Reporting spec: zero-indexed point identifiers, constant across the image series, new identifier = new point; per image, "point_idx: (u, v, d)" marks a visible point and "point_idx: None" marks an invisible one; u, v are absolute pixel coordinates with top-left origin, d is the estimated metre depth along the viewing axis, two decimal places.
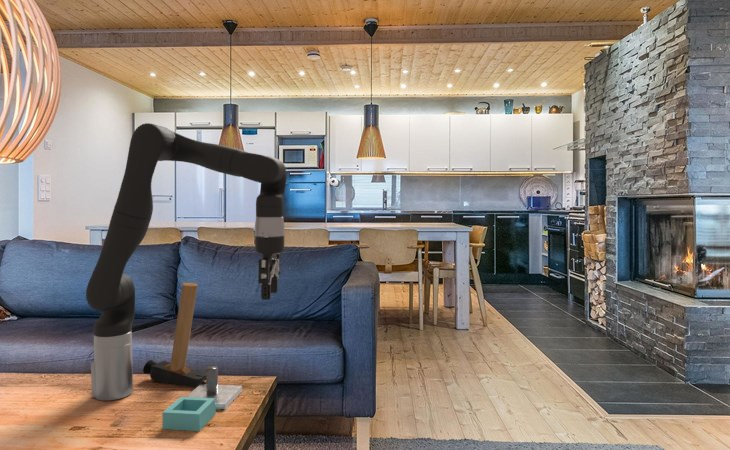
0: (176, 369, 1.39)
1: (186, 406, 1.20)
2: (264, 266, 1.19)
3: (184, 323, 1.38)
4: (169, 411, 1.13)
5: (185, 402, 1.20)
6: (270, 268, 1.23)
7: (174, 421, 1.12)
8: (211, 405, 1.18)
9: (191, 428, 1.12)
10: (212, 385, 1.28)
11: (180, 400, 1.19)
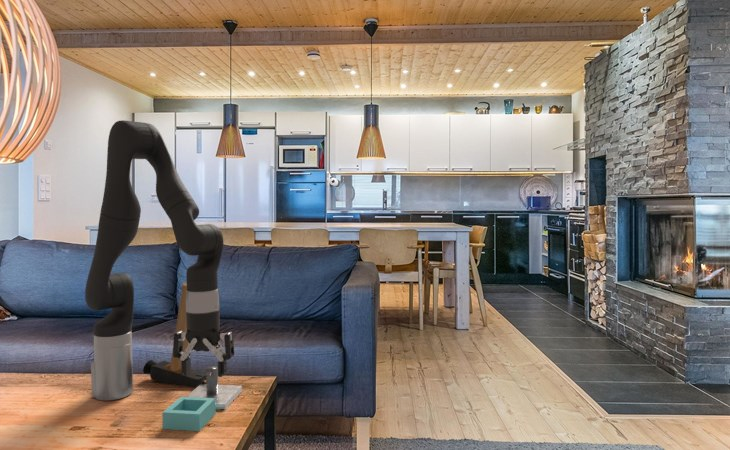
0: (176, 369, 1.39)
1: (186, 406, 1.20)
2: (231, 339, 1.14)
3: (184, 323, 1.38)
4: (169, 411, 1.13)
5: (185, 402, 1.20)
6: None
7: (174, 421, 1.12)
8: (211, 405, 1.18)
9: (191, 428, 1.12)
10: (212, 385, 1.28)
11: (179, 400, 1.19)
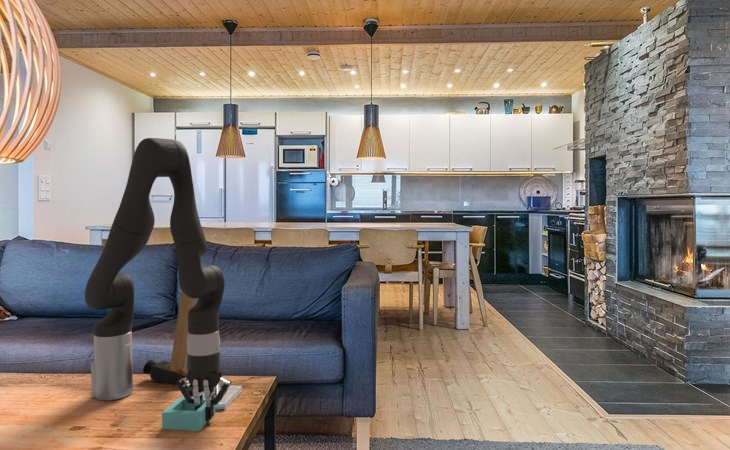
0: (176, 369, 1.39)
1: (186, 406, 1.20)
2: None
3: (184, 323, 1.38)
4: (169, 411, 1.13)
5: (185, 401, 1.20)
6: None
7: (174, 421, 1.12)
8: None
9: (191, 428, 1.12)
10: None
11: (179, 400, 1.19)
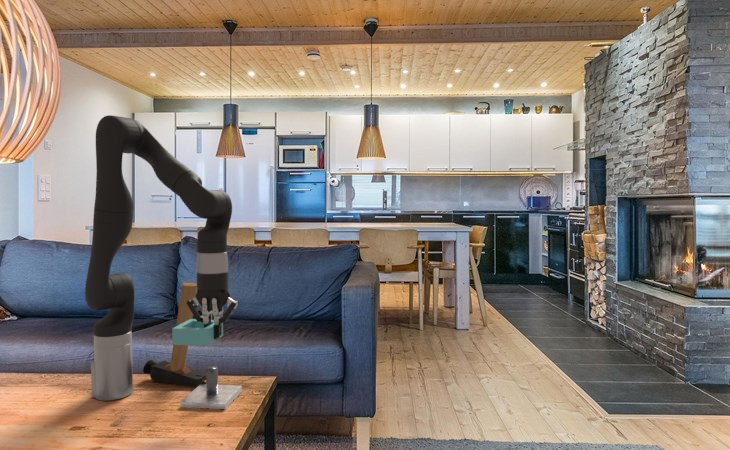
0: (176, 369, 1.39)
1: (195, 327, 1.25)
2: (234, 308, 1.20)
3: None
4: (179, 327, 1.18)
5: (194, 323, 1.25)
6: None
7: (183, 337, 1.17)
8: None
9: (199, 343, 1.17)
10: (212, 385, 1.28)
11: (189, 321, 1.24)
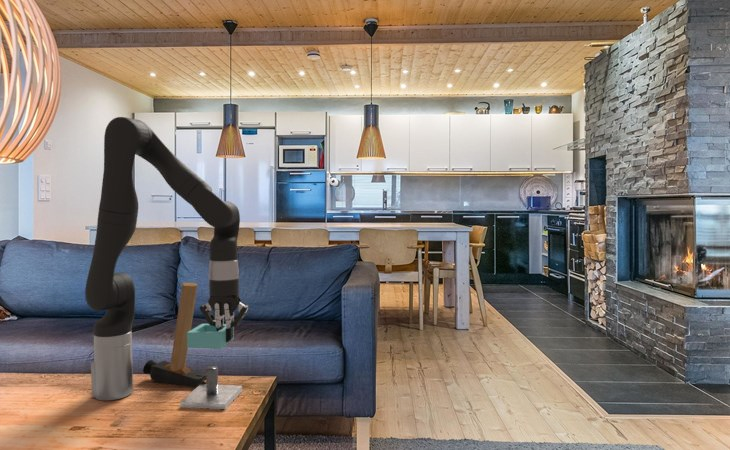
0: (176, 369, 1.39)
1: (207, 331, 1.32)
2: (245, 312, 1.27)
3: (184, 323, 1.38)
4: (193, 331, 1.25)
5: (206, 327, 1.32)
6: None
7: (197, 340, 1.24)
8: None
9: (213, 346, 1.24)
10: (212, 385, 1.28)
11: (201, 325, 1.31)
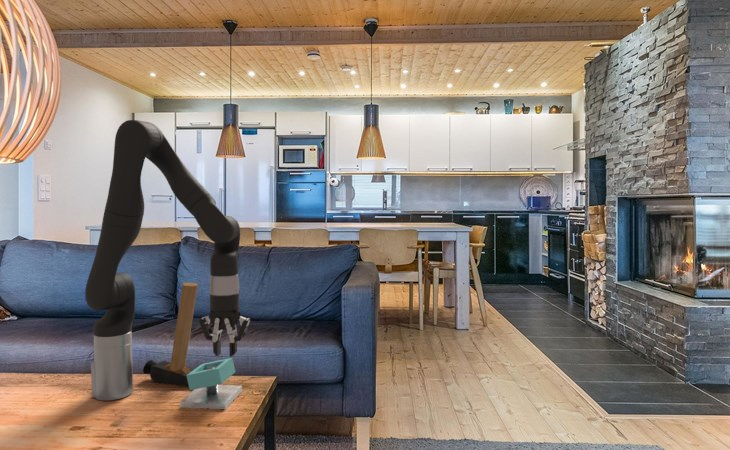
0: (176, 369, 1.39)
1: None
2: (247, 325, 1.28)
3: (184, 323, 1.38)
4: (192, 373, 1.26)
5: (206, 366, 1.33)
6: None
7: (198, 380, 1.25)
8: (229, 363, 1.31)
9: (214, 383, 1.24)
10: None
11: (201, 365, 1.32)
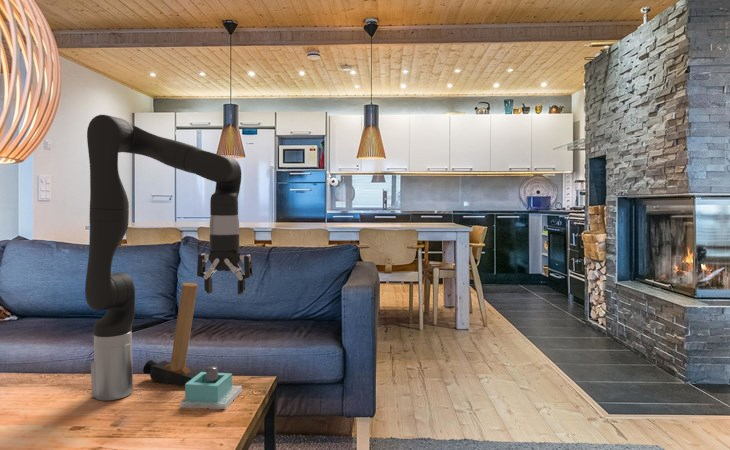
0: (176, 369, 1.39)
1: None
2: (249, 261, 1.27)
3: (184, 323, 1.38)
4: (191, 383, 1.26)
5: (205, 376, 1.33)
6: None
7: (195, 392, 1.25)
8: (228, 379, 1.31)
9: (210, 398, 1.25)
10: None
11: (200, 374, 1.32)
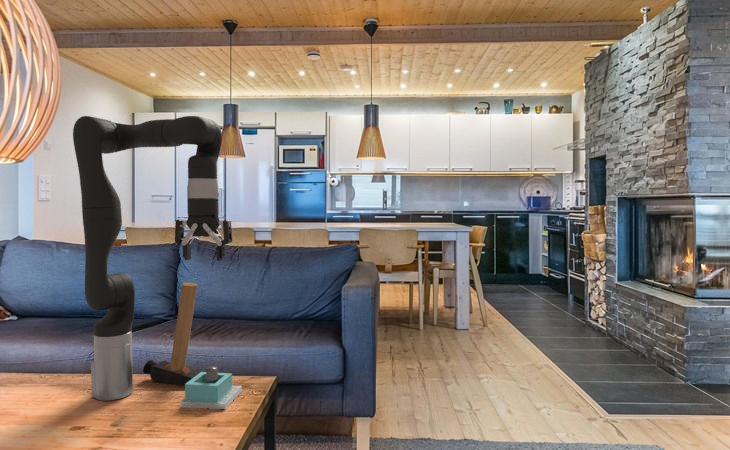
0: (176, 369, 1.39)
1: None
2: (229, 226, 1.22)
3: (184, 323, 1.38)
4: (191, 383, 1.26)
5: (205, 376, 1.33)
6: None
7: (195, 392, 1.25)
8: (228, 379, 1.31)
9: (210, 398, 1.25)
10: None
11: (200, 374, 1.32)
